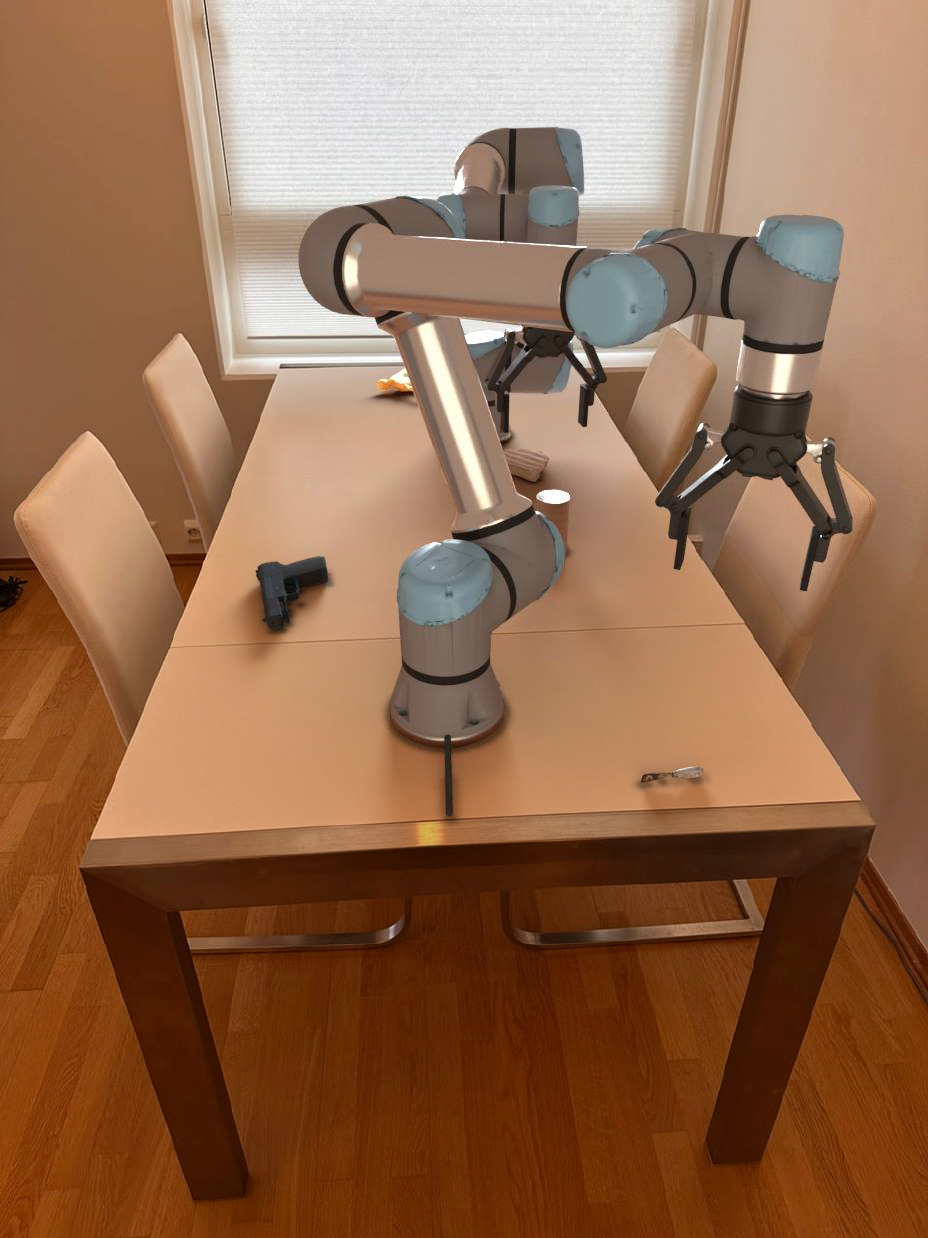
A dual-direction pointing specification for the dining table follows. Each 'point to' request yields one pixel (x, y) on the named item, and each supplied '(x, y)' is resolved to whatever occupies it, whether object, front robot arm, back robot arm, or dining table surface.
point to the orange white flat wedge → (396, 382)
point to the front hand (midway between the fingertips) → (739, 574)
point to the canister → (555, 510)
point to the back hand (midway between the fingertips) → (543, 427)
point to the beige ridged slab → (526, 463)
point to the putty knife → (674, 774)
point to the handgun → (287, 585)
